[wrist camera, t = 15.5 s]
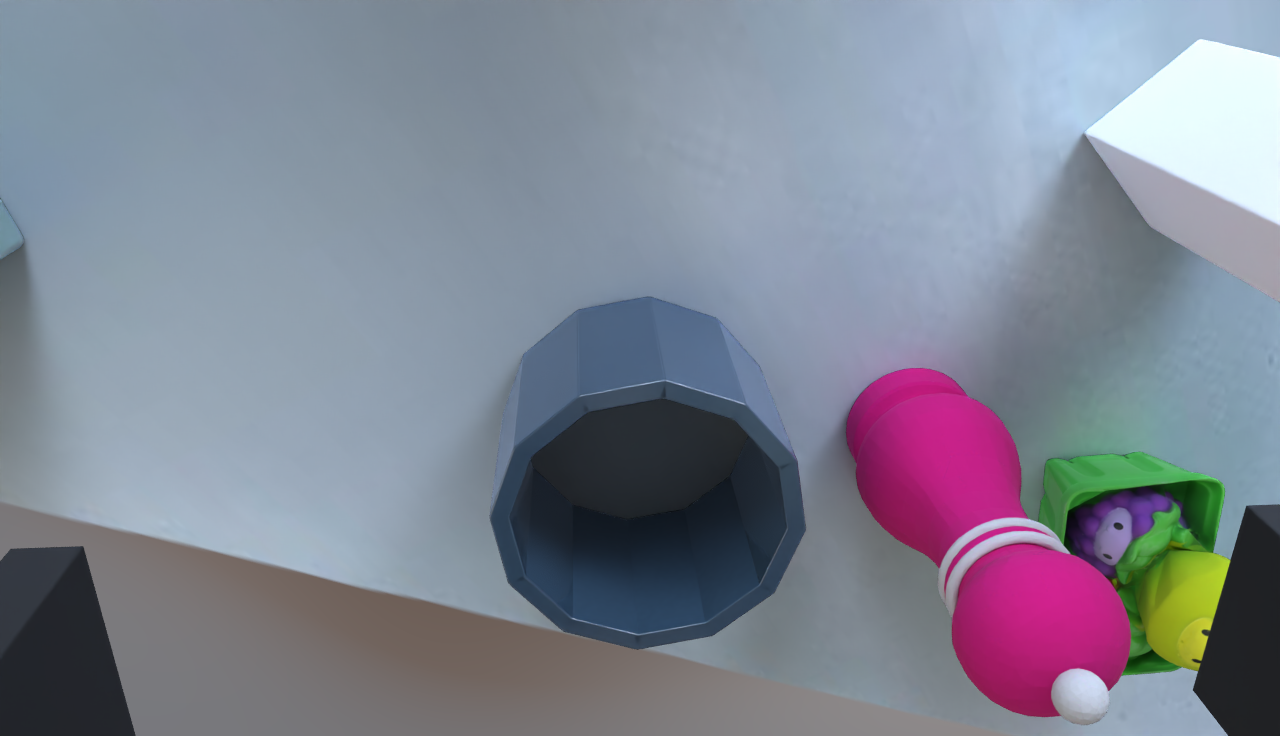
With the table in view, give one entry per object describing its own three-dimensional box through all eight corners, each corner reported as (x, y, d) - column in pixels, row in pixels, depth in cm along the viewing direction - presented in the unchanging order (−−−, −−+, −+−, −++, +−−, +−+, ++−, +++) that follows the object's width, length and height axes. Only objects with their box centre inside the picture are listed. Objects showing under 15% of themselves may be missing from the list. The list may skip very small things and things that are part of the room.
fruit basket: (1023, 438, 52) (1134, 572, 42) (1195, 424, 52) (1347, 555, 42) (1001, 618, 57) (1096, 779, 46) (1159, 605, 57) (1287, 762, 47)
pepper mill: (981, 348, 50) (1218, 611, 31) (977, 476, 53) (1190, 783, 34) (832, 367, 49) (984, 642, 31) (837, 494, 53) (977, 811, 34)
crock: (653, 246, 46) (671, 322, 38) (815, 429, 51) (862, 532, 43) (452, 411, 49) (428, 515, 41) (622, 571, 54) (631, 692, 46)
